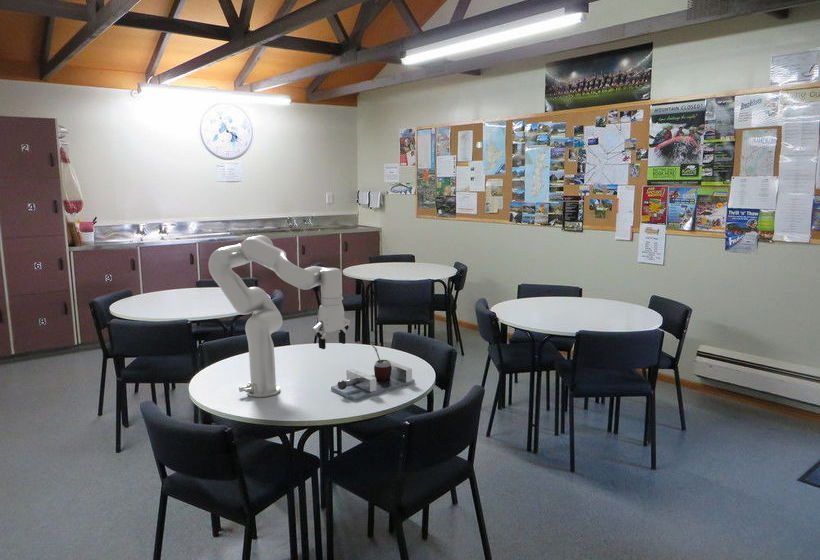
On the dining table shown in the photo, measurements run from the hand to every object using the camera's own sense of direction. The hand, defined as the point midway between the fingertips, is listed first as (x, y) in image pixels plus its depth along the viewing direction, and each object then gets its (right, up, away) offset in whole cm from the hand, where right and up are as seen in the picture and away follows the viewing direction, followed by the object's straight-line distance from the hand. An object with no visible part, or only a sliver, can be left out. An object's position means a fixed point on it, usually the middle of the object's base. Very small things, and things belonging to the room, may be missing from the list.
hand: (332, 345), depth 217 cm
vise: (+15, -18, +15) cm, 28 cm away
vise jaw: (+6, -18, +8) cm, 20 cm away
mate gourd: (+18, -16, +18) cm, 30 cm away
